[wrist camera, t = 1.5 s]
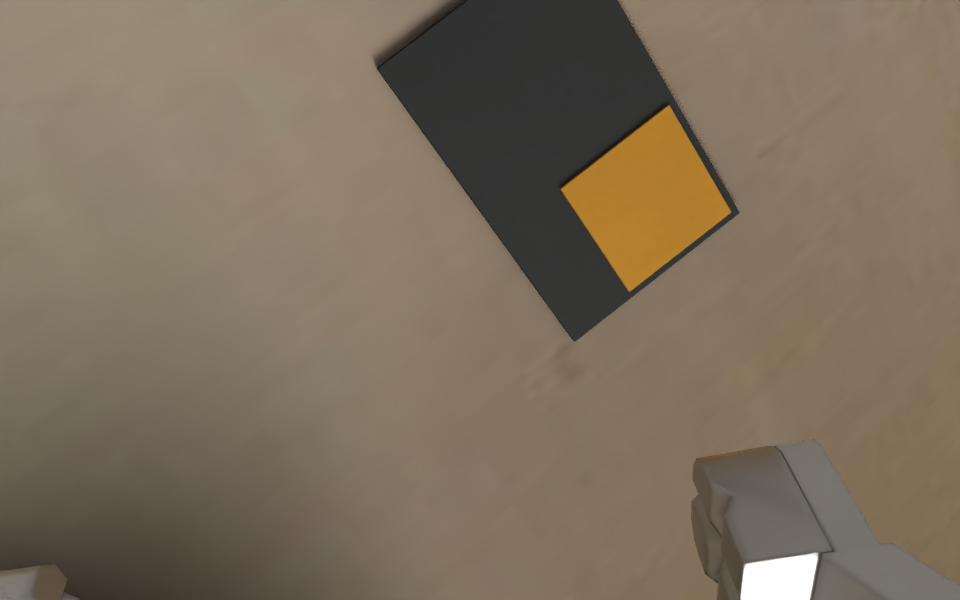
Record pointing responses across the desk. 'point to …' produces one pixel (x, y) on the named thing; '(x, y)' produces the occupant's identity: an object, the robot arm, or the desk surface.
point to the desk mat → (563, 145)
